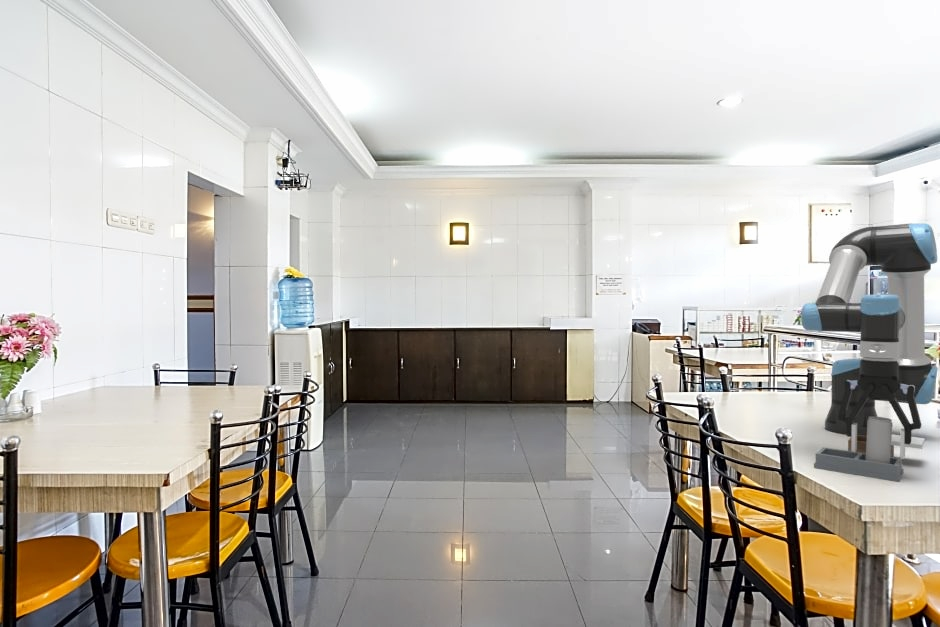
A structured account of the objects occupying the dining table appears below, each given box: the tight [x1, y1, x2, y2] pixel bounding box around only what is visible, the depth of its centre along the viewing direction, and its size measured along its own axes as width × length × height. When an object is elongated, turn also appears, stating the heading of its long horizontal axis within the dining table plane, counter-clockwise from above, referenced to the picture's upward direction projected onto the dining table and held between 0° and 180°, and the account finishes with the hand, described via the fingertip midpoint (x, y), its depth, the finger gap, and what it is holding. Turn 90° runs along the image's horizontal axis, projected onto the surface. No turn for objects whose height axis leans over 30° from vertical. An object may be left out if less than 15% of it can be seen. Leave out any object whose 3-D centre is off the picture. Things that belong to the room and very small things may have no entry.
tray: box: [847, 435, 895, 458], centre depth 153 cm, size 9×9×4 cm
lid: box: [891, 433, 926, 450], centre depth 149 cm, size 9×9×3 cm
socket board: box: [813, 447, 905, 483], centre depth 140 cm, size 9×17×4 cm, turn 48°
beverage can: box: [866, 416, 893, 464], centre depth 137 cm, size 5×5×12 cm
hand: (877, 453), depth 137 cm, fingers open, 9 cm apart
